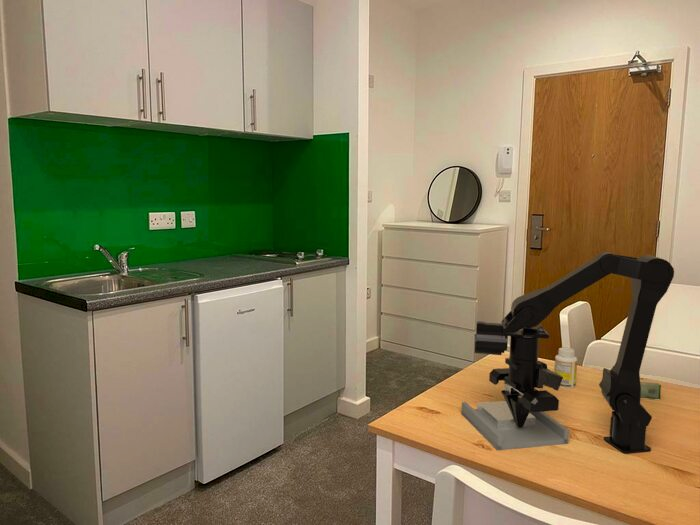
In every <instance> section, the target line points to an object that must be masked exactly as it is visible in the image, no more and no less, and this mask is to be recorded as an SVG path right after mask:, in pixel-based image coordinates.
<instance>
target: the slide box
mask: <svg viewBox="0 0 700 525" xmlns="http://www.w3.org/2000/svg"><path fill="white" fill-rule="evenodd" d="M460 413H461V416H463V417H464V419H465V420H466V421H467V422H468V423H469V424H471V426H472V427H473V428H475V430H476V431H477V432H478V433H480V435H481V436H483V438H484V439H485V440H486V441H487V442H488V443H490V445H492V447H493V448H495V450H496V451H503V450H505V451H506V450H513V449H525V448H527V449H528V448H535V447H536V448H537V447H546V446H547V447H548V446H558V445H559V446H560V445H567V444H569V437H570V436H569V435H570V429H568V428H567V427H565V425H563V424H561V423H560V422H559V421H557V420H556V419H554V418H553V417H552V416H550V415H549V414H548V413H546V411H545V412H531V411H530V412H529V413H530V414H532V415H533V416H534V417H536V420H535V426H531V427H521V428H507V429H496V428H495V427H494V426H493V425H492V424H491V423H490V422H489V421H488V420H487V419H485V418H484V417H483V416H482V415H481V414H480V413H479V412H478V411H477V408H476V409H474V408H473V407H472V406H471V405H470V404H469V403H468V402H467V401H462V402H461V412H460Z"/></svg>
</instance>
